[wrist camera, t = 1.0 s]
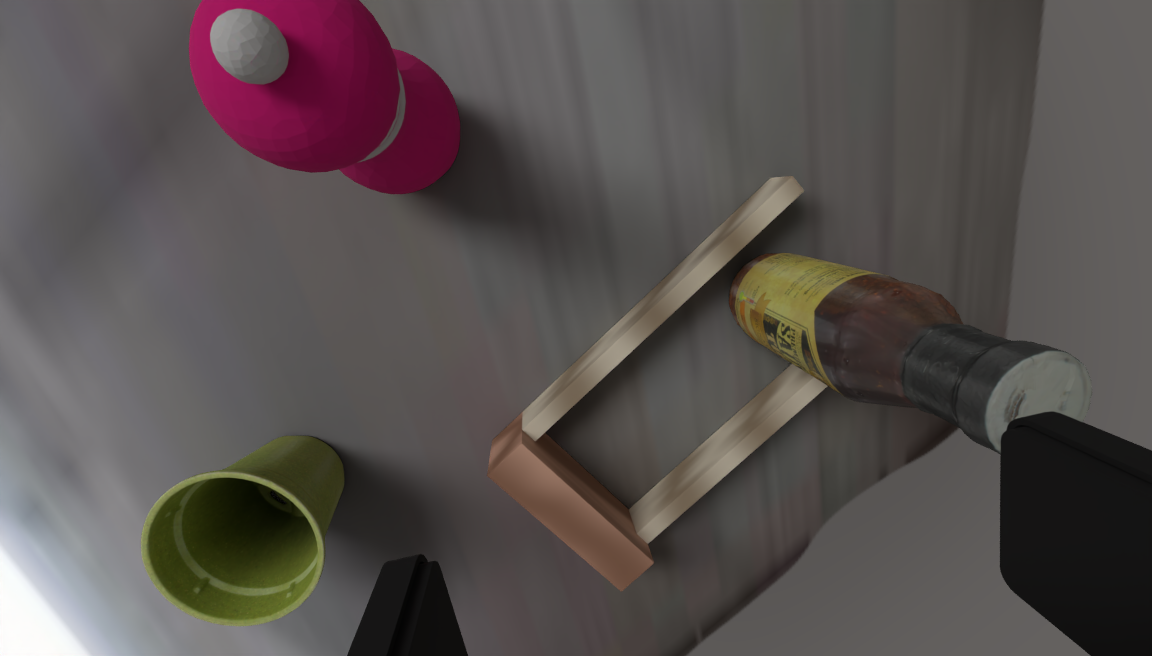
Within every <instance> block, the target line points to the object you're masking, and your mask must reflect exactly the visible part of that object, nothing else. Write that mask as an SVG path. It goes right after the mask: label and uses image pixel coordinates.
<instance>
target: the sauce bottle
mask: <svg viewBox="0 0 1152 656" xmlns="http://www.w3.org/2000/svg"><path fill="white" fill-rule="evenodd" d="M729 305H730V309H731V312H732V314H733V316H734V318H735V320H736V322H737V324H738V325H739V326H740V327H741V328H742V329H743V331H744V332H745V333H746V334H747V335H748V336H749V337H751V338H752V339H753V340H755V341H757V342H758V343H760V344H762V345H763V346H765V347H766V348H768V349H770V350H771V351H773V352H774V353H776V354H778V355H779V356H781V357H782V358H784V359H786V360H787V361H789V362H790V363H792V364H794V365H795V366H796V367H798V368H800V369H802V370H803V371H805V372H806V373H808V374H810V375H811V376H813V377H815V378H816V379H818V380H819V381H821V382H823V383H824V384H826V385H827V386H829V387H830V388H832V389H834V390H835V391H837V392H839V393H840V394H842V395H844V396H845V397H847V398H849V399H851V400H854V401H857V402H865V403H875V404H884V405H893V406H902V407H913V408H919V409H920V410H921V411H924V412H927V413H932V414H934V415H936V416H939V417H940V418H942V419H944V420H946V421H948V422H950V423H952V424H954V425H956V426H957V427H959V428H961V429H962V430H963V432H964V433H965V434H966V435H967V436H968V437H969V438H970V439H972V440H973V441H975V442H976V443H978V444H980V445H983V446H985V447H987V448H990V449H991V450H994V451H995V452H998V453H999V454H1001V436H1002V434H1003V433H1004V432H1005V431H1006V430H1007V426H1008V424H1009V423H1010V422H1011V421H1012V420H1014V419H1017V418H1021V417H1026V416H1030V415H1034V414H1039V413H1043V412H1050V411H1054V412H1058V413H1061V414H1064V415H1066V416H1069V417H1071V418H1073V419H1076V420H1078V421H1081V422H1083V421H1084V418H1085V416H1086V413H1087V411H1088V409H1089V405H1090V398H1091V395H1092V389H1091V379H1090V376H1089V374H1088V371H1087V369H1086V367H1085V366H1084V365H1083V364H1082V363H1081V362H1080V361H1079V360H1078V359H1076V358H1075V357H1073V356H1072V355H1070V354H1069V353H1067V352H1064V351H1061V350H1058V349H1055V348H1052V347H1049V346H1045V345H1041V344H1037V343H1034V342H1027V341H1011V340H1007V339H1004V338H1001V337H997V336H994V335H991V334H987V333H984V332H982V331H981V330H979V329H976V328H975V327H972V326H970V325H964V324H963V322H962V321H961V319H960V317H959V314H958V313H957V312H956V310H955V308H954V307H953V306H952V305H951V304H950V302H948V301H947V300H946V299H945V298H944V297H943V296H942V295H941V294H938V293H935V292H933V291H931V290H929V289H927V288H925V287H922V286H919V285H915V284H911V283H906V282H902V281H899V280H897V279H895V278H892V277H890V276H887V275H883V274H879V273H874V272H870V271H866V270H862V269H857V268H853V267H849V266H844V265H840V264H836V263H832V262H828V261H823V260H819V259H815V258H810V257H806V256H801V255H796V254H791V253H780V254H777V253H775V254H772V253H771V254H764V255H760V256H758V257H757V258H754V259H753V260H751V261H750V262H749V263H747V264H745V266H743V267H742V269H741V270H740V271H739V272H738V273H737V275H736V276H735V278H734V280H733V282H732V285H731V287H730V294H729Z"/></svg>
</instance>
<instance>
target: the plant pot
mask: <svg viewBox="0 0 1152 656" xmlns="http://www.w3.org/2000/svg"><path fill="white" fill-rule="evenodd" d="M343 488H344V470H343V464H342V462H341V460H340V458H339V456H338V455H337V454H336V452H335V451H334V450H333V449H332V448H331V447H330V446H328V445H327V444H326V443H324V442H322V441H320V440H318V439H316V438H313V437H310V436H283V437H280V438H277V439H275V440H273V441H271V442H270V443H268V444H266V445H264V446H263V447H261V448H259V449H258V450H256V451H254V452H253V453H251V454H249V455H248V456H246V457H244V458H243V459H241V460H239V461H238V462H236V463H234V464H233V465H231V466H229V467H227V468H226V469H223V470H219V471H211V472H206V473H202V474H198V475H195V476H193V477H190V478H188V479H186V480H184V481H182V482H180V483H178V484H177V485H175V486H174V487H172V488H171V489H169V490H168V491H167V492H166V493H165V494H163V495H162V496H161V497H160V498H159V500H158V501H157V502H156V503H155V504H154V506H153V507H152V509H151V510H150V512H149V514H148V516H147V518H146V520H145V523H144V527H143V531H142V536H141V551H142V560H143V563H144V566H145V569H146V571H147V573H148V575H149V577H150V579H151V580H152V582H153V584H154V585H155V586H156V588H157V589H158V590H159V591H160V593H161V594H162V595H163V596H164V597H165V598H166V599H167V600H168V601H169V602H170V603H172V604H173V605H174V606H176V607H177V608H179V609H180V610H182V611H184V612H185V613H187V614H189V615H191V616H193V617H195V618H198V619H201V620H204V621H207V622H211V623H216V624H220V625H229V626H251V625H258V624H263V623H267V622H271V621H273V620H276V619H278V618H281V617H283V616H285V615H287V614H288V613H290V612H292V611H293V610H295V609H296V608H297V607H299V606H300V605H301V604H302V603H303V602H304V601H305V600H306V599H307V598H308V597H309V596H310V594H311V593H312V592H313V590H314V589H315V587H316V585H317V583H318V581H319V579H320V577H321V574H322V571H323V567H324V562H325V535H326V533H327V530H328V527H329V525H330V522H331V519H332V517H333V514H334V511H335V509H336V506H337V504H338V501H339V499H340V496H341V494H342V491H343ZM271 491H273V492H274V493H276V495H277V496H278V497H279V498H280V499H282V500H284V501H285V502H287V503H286V504H282V503H280V502H279V501H277V500H276V499H274V498H273V497H272V496H271V494H270V492H271Z"/></svg>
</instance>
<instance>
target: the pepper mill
mask: <svg viewBox="0 0 1152 656" xmlns="http://www.w3.org/2000/svg"><path fill="white" fill-rule="evenodd" d="M189 55H190V67H191V71H192V75H193V78H194V82H195V85H196V87H197V90H198V92H199V94H200V97H201V99H202V101H203V103H204V105H205V107H206V108H207V110H208V111H209V113H210V114H211V115H212V117H213V118H214V119H215V121H216V122H217V123H218V124H219V125H220V127H221V128H222V129H223V130H224V131H225V133H226V134H228V135H229V136H230V137H231V138H232V139H233V140H234V141H235V142H237V143H238V144H239V145H240V146H241V147H243V148H244V149H246V150H248V151H249V152H251V153H252V154H254V155H256V156H257V157H260V158H262V159H264V160H266V161H268V162H271V163H273V164H275V165H278V166H281V167H284V168H287V169H292V170H299V171H305V172H328V171H333V170H337V169H339V170H340V171H341V172H342V173H343V174H344V175H346V176H347V177H349V178H350V179H352V180H353V181H355V182H356V183H358V184H361V185H363V186H365V187H367V188H369V189H372V190H375V191H378V192H382V193H388V194H406V193H412V192H415V191H418V190H421V189H424V188H425V187H427V186H429V185H431V184H433V183H434V182H435V181H436V180H438V179H439V178H440V177H441V176H443V175H444V174H445V173H446V172H447V171H448V169H449V168H450V167H451V166H452V164H453V162H454V160H455V158H456V156H457V153H458V149H459V143H460V119H459V114H458V109H457V106H456V103H455V100H454V98H453V96H452V94H451V92H450V90H449V88H448V87H447V85H446V84H445V83H444V81H443V80H442V78H441V77H440V76H439V75H438V74H437V73H436V72H435V71H434V70H433V69H431V68H430V67H429V66H428V65H426V64H425V63H424V62H422V61H421V60H419V59H418V58H416V57H415V56H413V55H410V54H408V53H406V52H403V51H400V50H396V49H392V48H391V45H390V43H389V41H388V39H387V37H386V35H385V34H384V32H383V31H382V29H381V27H380V26H379V24H378V23H377V21H376V20H375V18H374V16H373V15H372V14H371V13H370V12H369V10H368V9H367V8H366V7H365V6H364V5H363V4H362V3H361V2H360V1H359V0H202V2H201V3H200V5H199V7H198V9H197V10H196V12H195V16H194V19H193V22H192V25H191V29H190V43H189Z"/></svg>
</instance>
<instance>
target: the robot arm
mask: <svg viewBox="0 0 1152 656" xmlns="http://www.w3.org/2000/svg"><path fill="white" fill-rule="evenodd" d="M1000 472H1001V474H1000V476H1001V477H1000V479H1001V480H1000V482H1001V483H1000V570H1001V573H1002V576H1003V578H1004V580H1005V582H1006V583H1007V585H1008V586H1009V587H1010V589H1011V590H1012V591H1013V592H1014V593H1015V594H1017V595H1018V596H1019V597H1020V598H1021V599H1023V600H1024V601H1025V602H1026V603H1028V604H1029V605H1030V606H1031V607H1032V608H1034V609H1035V610H1036V611H1037V612H1039V613H1040V614H1041V615H1042V616H1043V617H1045V618H1046V619H1047V620H1048V621H1049V622H1051V623H1052V624H1053V625H1054V626H1055V627H1057V628H1058V629H1059V630H1060V631H1062V632H1063V633H1064V634H1065V635H1066V636H1068V637H1069V638H1070V639H1071V640H1073V641H1074V642H1075V643H1076V644H1077V645H1079V646H1080V647H1081V648H1082V649H1083V650H1085V651H1086V652H1087V653H1088V654H1090V655H1091V656H1152V451H1151V450H1149V449H1146V448H1143V447H1142V446H1139V445H1137V444H1134V443H1132V442H1129V441H1127V440H1124V439H1122V438H1120V437H1117V436H1115V435H1112V434H1110V433H1108V432H1105V431H1102V430H1100V429H1097V428H1095V427H1093V426H1091V425H1088V424H1085V423H1083V422H1081V421H1078V420H1076V419H1073V418H1071V417H1069V416H1066V415H1064V414H1061V413H1058V412H1054V411H1050V412H1043V413H1039V414H1034V415H1030V416H1026V417H1021V418H1017V419H1014V420H1012V421H1011V422H1010V423H1009V424H1008V426H1007V430H1006V431H1005V432H1004V433H1003V434H1002V436H1001V471H1000ZM347 656H468V654H467V651H466V648H465V645H464V641H463V638H462V635H461V632H460V629H459V625H458V622H457V619H456V616H455V613H454V610H453V606H452V603H451V600H450V597H449V594H448V590H447V587H446V584H445V581H444V578H443V574H442V571H441V568H440V566H439V564H438V562H437V561H432V562H427V559H426V558H425V556H424V555H422V554H419V555H415V556H410V557H406V558H402V559H397V560H393V561H388V562H386V563H385V564H384V565H383V567H382V569H381V572H380V574H379V577H378V579H377V582H376V584H375V587H374V589H373V592H372V594H371V597H370V599H369V602H368V604H367V607H366V609H365V612H364V615H363V617H362V620H361V622H360V625H359V627H358V630H357V632H356V635H355V637H354V640H353V642H352V645H351V647H350V650H349V652H348V655H347Z"/></svg>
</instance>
